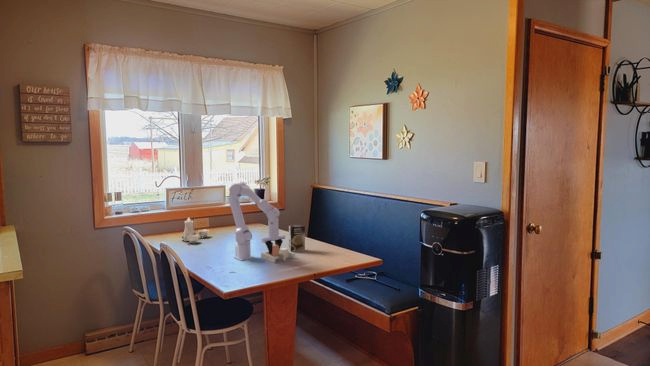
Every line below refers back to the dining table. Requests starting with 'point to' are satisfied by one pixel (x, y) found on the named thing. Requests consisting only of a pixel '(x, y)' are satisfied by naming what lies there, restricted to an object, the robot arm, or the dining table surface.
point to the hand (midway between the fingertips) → (274, 253)
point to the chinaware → (192, 232)
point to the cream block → (284, 252)
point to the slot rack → (277, 259)
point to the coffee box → (296, 238)
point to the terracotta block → (275, 251)
